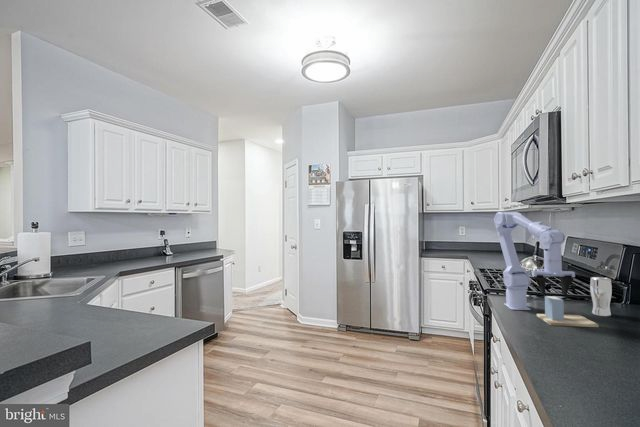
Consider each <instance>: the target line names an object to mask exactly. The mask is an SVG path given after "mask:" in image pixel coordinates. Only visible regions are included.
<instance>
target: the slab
mask: <svg viewBox="0 0 640 427" xmlns="http://www.w3.org/2000/svg"><path fill="white" fill-rule="evenodd" d="M564 305H565V304H564V299H562V298H560V297H558V296H555V295H552V296H551V295H544V314H545V316H546V317H548V318H550V319H551V320H556V321H564V315H565V312H564V310H565V308H564V307H565V306H564Z"/></svg>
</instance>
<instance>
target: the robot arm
mask: <svg viewBox="0 0 640 427" xmlns="http://www.w3.org/2000/svg"><path fill="white" fill-rule="evenodd" d="M493 221H494V226H495V228H496V229H495V230H496V233H497V236H498V241H499V244H500V246H501V251H502V255H503V258H504V262H505V266H506V268H505V269H504V270H503V272H502V275H503V280H502V281H503V284H504V285H505V287H506V290H505V302H504V303H503V305H504V306H506V307H507V308H508V309H510V310H513V311H514V310H516V311H517V310H518V311H519V310H520V311H531V308H530V307H528V304H527V303H528V301H527V299H528V298H527V290H528V287H529V286H530V285H531V282H532V281H531V280H532V279H531V277H530V275H529V274H528V272H527V269H525V267H523V266H522V265H521V264H520V260H519V257H518V254H517V251H516V247H515V244H514V240H513V237H512V232H513V231H515V229H516V228H517V227H518V226H521V227H522V228H525V229H527V231H528V232H529V234H530V235H532V236H533V237H535V238H537V239H539V241H540V242H541V245H542V246H541V247H542V248H543V266H544V268H543V270H531V276H532V277H533V279H534V280H535V281H536V283H537V286H538V289H539V293H540V294H541V295H542V296H546V281H547V278H545V277H559V278H560V282H561V294H562V295H563V296H567V295H568V291H569V288H570V286H571V284H572V283H573V281H574V278H576V272H575V271H573V270H568V271H567V270H563V267H562V265H563V263H562V261H563V260H562V258H563V257H562V244H563V243H564V242H565V240H566V235H565V233H564V231H561V230H560V229H553V228H552V227H551V226H548V225H545V224H543V222H542V221H531V220H530V219H529V218H527V217H525V216H524V215H522V213H520V212H518V211H497V212H496V214H495V215H494V217H493Z"/></svg>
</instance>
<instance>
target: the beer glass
mask: <svg viewBox="0 0 640 427" xmlns="http://www.w3.org/2000/svg"><path fill="white" fill-rule="evenodd" d="M589 281H590V283H589V291H590V296H591V300H592V311H591V314H593V315H595V316H600V317H611V316H612V314H611V307H610V304H611V299H612V293H613V292H612V291H613V289H612V288H613V286H612V279H611V278H609V277H602V276H591V277H590V280H589Z"/></svg>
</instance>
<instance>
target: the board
mask: <svg viewBox="0 0 640 427" xmlns="http://www.w3.org/2000/svg"><path fill="white" fill-rule="evenodd" d="M536 317H538V319H541V320H542V321H544V322H546V324H548V325H549V326H557V327H558V326H560V327H582V328H584V327H586V328H588V327H589V328H599V327H600V326H599V323H597V322H594V321H592V320H591V319H588V318H586V317H585V316H582V315H580V314H564V321H556V320H551V319H550V318H548V317H546V316H545V313H536Z"/></svg>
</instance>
